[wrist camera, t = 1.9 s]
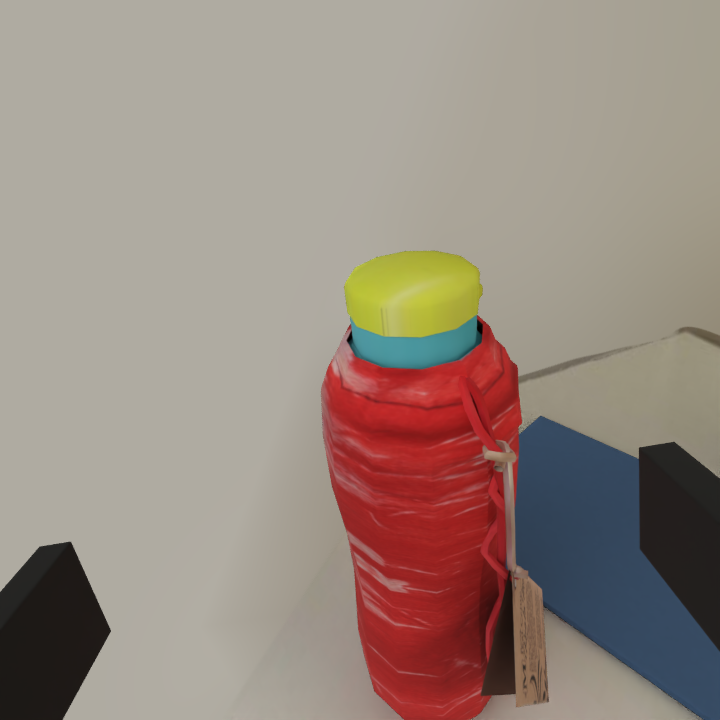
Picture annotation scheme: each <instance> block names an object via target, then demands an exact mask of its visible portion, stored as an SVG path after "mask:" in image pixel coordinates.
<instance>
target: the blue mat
mask: <svg viewBox="0 0 720 720" xmlns="http://www.w3.org/2000/svg"><path fill="white" fill-rule="evenodd" d="M514 509H515V554H516V565H517V566H520V567H522V568H523V569H524V570H526V571H528V576H529V577H530V578H531V579H532V580H533V581H534V582H535V583H536V584H537V585H538V586H539V587H540V588H541V589H542V597H543V606H545V607H546V608H548V609H549V610H550V611H552V612H553V613H555V614H556V615H557V616H559V617H560V618H562V619H563V620H564V621H566V622H567V623H569V624H570V625H571V626H573V627H574V628H576V629H577V630H578V631H580V632H581V633H583V634H584V635H585V636H587V637H588V638H590V639H591V640H592V641H594V642H595V643H597V644H598V645H600V646H601V647H602V648H604V649H605V650H607V651H608V652H609V653H611V654H612V655H614V656H615V657H616V658H618V659H619V660H621V661H622V662H623V663H625V664H626V665H628V666H629V667H630V668H632V669H633V670H635V671H636V672H637V673H639V674H640V675H642V676H643V677H644V678H646V679H647V680H649V681H650V682H652V683H653V684H654V685H656V686H657V687H659V688H660V689H661V690H663V691H664V692H666V693H667V694H668V695H670V696H671V697H673V698H674V699H675V700H677V701H678V702H680V703H681V704H682V705H684V706H685V707H687V708H688V709H689V710H691V711H692V712H694V713H695V714H696V715H698V716H699V717H701V718H702V719H704V720H720V651H719V650H718V649H717V647H716V646H715V645H714V644H713V642H712V641H711V640H710V638H709V637H708V636H707V635H706V633H705V632H704V631H703V629H702V628H701V627H700V626H699V624H698V623H697V622H696V621H695V619H694V618H693V617H692V615H691V614H690V613H689V612H688V610H687V609H686V608H685V606H684V605H683V604H682V603H681V601H680V600H679V599H678V597H677V596H676V595H675V594H674V592H673V591H672V590H671V588H670V587H669V586H668V585H667V583H666V582H665V581H664V579H663V578H662V577H661V576H660V574H659V573H658V572H657V571H656V569H655V568H654V567H653V565H652V564H651V563H650V562H649V560H648V559H647V558H646V556H645V555H644V554H643V553H642V551H641V550H640V526H639V459H637V458H635V457H633V456H631V455H628V454H626V453H624V452H622V451H619V450H617V449H615V448H613V447H610V446H608V445H606V444H603V443H601V442H599V441H597V440H594V439H592V438H590V437H588V436H585V435H583V434H581V433H579V432H576V431H574V430H572V429H570V428H567V427H565V426H563V425H560V424H558V423H556V422H554V421H551V420H549V419H547V418H545V417H542V416H540V417H539V418H538V419H536V420H535V421H534V422H533V423H532V424H531V425H530V426H528V427H527V428H526V429H525V430H524V431H523V432H522V433H521V434H519V457H518V472H517V487H516V502H515V508H514ZM506 569H507V570H508V567H507V554H506ZM508 571H509V570H508Z"/></svg>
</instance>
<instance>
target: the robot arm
mask: <svg viewBox="0 0 720 720" xmlns="http://www.w3.org/2000/svg"><path fill="white" fill-rule="evenodd" d="M639 526H640V550H641V551H642V553H643V554H644V555H645V556H646V558H647V559H648V560H649V562H650V563H651V564H652V565H653V567H654V568H655V569H656V571H657V572H658V573H659V574H660V576H661V577H662V578H663V579H664V581H665V582H666V583H667V585H668V586H669V587H670V588H671V590H672V591H673V592H674V594H675V595H676V596H677V597H678V599H679V600H680V601H681V603H682V604H683V605H684V606H685V608H686V609H687V610H688V612H689V613H690V614H691V615H692V617H693V618H694V619H695V621H696V622H697V623H698V624H699V626H700V627H701V628H702V629H703V631H704V632H705V633H706V635H707V636H708V637H709V638H710V640H711V641H712V642H713V644H714V645H715V646H716V647H717V649H718V650H719V651H720V478H718V477H717V476H716V475H715V474H713V473H712V472H711V471H710V470H708V469H707V468H706V467H705V466H703V465H702V464H701V463H700V462H698V461H697V460H696V459H695V458H694V457H692V456H691V455H690V454H689V453H687V452H686V451H685V450H684V449H682V448H681V447H680V446H679V445H677V444H676V443H675V442H670V443H664V444H658V445H652V446H646V447H640V448H639ZM110 632H111V630H110V628H109V625H108V623H107V621H106V619H105V616H104V614H103V612H102V610H101V608H100V605H99V603H98V601H97V599H96V596H95V594H94V592H93V590H92V588H91V585H90V583H89V581H88V579H87V576H86V574H85V572H84V570H83V568H82V565H81V564H80V561H79V559H78V556H77V554H76V552H75V550H74V548H73V545H72V543H71V542H66V543H59V544H53V545H47V546H41V547H39V548H38V549H37V550H36V552H35V553H34V554H33V555H32V556H31V557H30V558H29V560H28V561H27V562H26V563H25V564H24V565H23V566H22V568H21V569H20V570H19V571H18V572H17V573H16V574H15V576H14V577H13V578H12V579H11V580H10V581H9V583H8V584H7V585H6V586H5V587H4V588H3V589H2V591H1V592H0V720H63V717H64V716H65V714H66V712H67V711H68V709H69V707H70V705H71V703H72V701H73V699H74V697H75V696H76V694H77V692H78V690H79V689H80V686H81V685H82V683H83V681H84V679H85V677H86V676H87V674H88V672H89V670H90V668H91V667H92V665H93V663H94V661H95V659H96V658H97V656H98V654H99V652H100V650H101V648H102V647H103V645H104V643H105V641H106V639H107V637H108V635H109V634H110Z"/></svg>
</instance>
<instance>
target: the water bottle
mask: <svg viewBox="0 0 720 720" xmlns="http://www.w3.org/2000/svg"><path fill="white" fill-rule="evenodd" d="M479 277H480V272H479V270H478V268H477V267H476V266H474V265H473V264H471V263H470V262H468V261H467V260H466V259H464V258H463V257H461V256H458V255H454V254H449V253H443V252H439V251H404V252H399V253H395V254H390V255H385V256H380V257H376V258H374V259H372V260H370V261H368V262H366V263H364V264H362V265H360V266H358V267H356V268H355V269H354V270H353V272H352V273H351V275H350V276H349V278H348V280H347V281H346V283H345V286H344V289H345V297H346V304H347V312H348V314H349V315H350V321H351V324H350V326H349V327H348V329H347V331H346V333H345V335H344V337H343V339H342V341H341V343H340V346H339V348H338V349H337V351H336V353H335V355H334V357H333V359H332V361H331V363H330V365H329V367H328V369H327V372H326V376H325V378H324V381H323V384H322V388H321V401H322V423H323V424H322V426H323V439H324V444H325V450H326V456H327V461H328V467H329V472H330V478H331V483H332V488H333V491H334V494H335V497H336V500H337V503H338V506H339V510H340V512H341V515H342V519H343V522H344V525H345V528H346V531H347V534H348V540H349V545H350V550H351V555H352V560H353V566H354V573H355V587H356V602H357V617H358V630H359V635H360V639H361V643H362V648H363V652H364V656H365V660H366V663H367V667H368V670H369V674H370V677H371V680H372V684H373V687H374V691H375V692H376V693H377V694H378V695H379V696H380V697H381V698H382V699H383V700H384V701H385V702H386V703H387V704H388V705H389V706H390V707H392V708H393V709H394V710H395V711H396V712H397V713H398V714H399V715H400V716H401V717H402V718H403V719H405V720H469V719H472V718H473V717H475V716H477V715H478V714H480V713H481V711H482V710H483V708H484V707H485V705H486V704H487V702H488V701H489V699H490V698H491V696H492V695H508V694H516V707H521V706H527V705H533V704H540V703H546V702H549V699H548V682H547V665H546V648H545V631H544V614H543V597H542V589H541V588H540V587H539V586H538V585H537V584H536V583H535V582H534V581H533V580H532V579H531V578H530V577H529V576H528V571H526V570H524V569H523V568H522V567H520V566H517V565H516V554H515V509H514V508H515V502H516V487H517V472H518V457H519V430H518V427H519V426H520V425H521V424H522V418H521V409H520V400H519V389H518V368H517V365H516V364H515V363H513V362H512V361H511V360H510V358H509V356H508V354H507V352H506V349H505V347H503V346H502V345H501V344H500V343H499V342H498V341H497V340H495V337H494V335H493V333H492V330H491V328H490V326H489V325H488V324H486V322H484V321H483V320H482V319H481V318H480V317H479V316H478V315H477V314H478V305H479V298H480V297H481V296H482V291H483V288H482V285H481V284H480V283H479V280H480V278H479ZM506 554H507V567H508V570H509V571H508V570H507V569H506Z"/></svg>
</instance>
